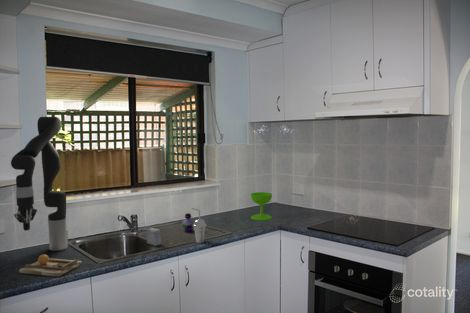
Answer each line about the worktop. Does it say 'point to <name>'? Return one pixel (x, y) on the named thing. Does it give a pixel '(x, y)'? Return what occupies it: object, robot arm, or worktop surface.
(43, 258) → the ball
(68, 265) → the beige tray
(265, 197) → the wineglass
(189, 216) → the potion bottle
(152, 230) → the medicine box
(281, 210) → the worktop surface
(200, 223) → the cup with straw
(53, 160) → the robot arm
